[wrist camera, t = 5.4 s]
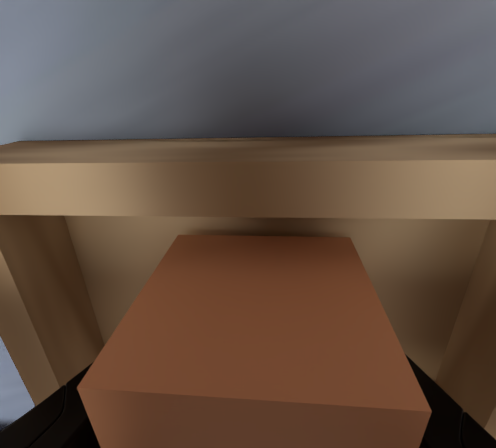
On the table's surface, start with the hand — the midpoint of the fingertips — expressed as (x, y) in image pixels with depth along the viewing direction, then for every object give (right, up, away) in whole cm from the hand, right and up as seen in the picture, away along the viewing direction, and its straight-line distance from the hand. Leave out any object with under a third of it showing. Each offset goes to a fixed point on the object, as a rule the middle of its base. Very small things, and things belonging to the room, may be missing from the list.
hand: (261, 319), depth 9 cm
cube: (0, 0, +1) cm, 1 cm away
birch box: (0, +1, +2) cm, 2 cm away
